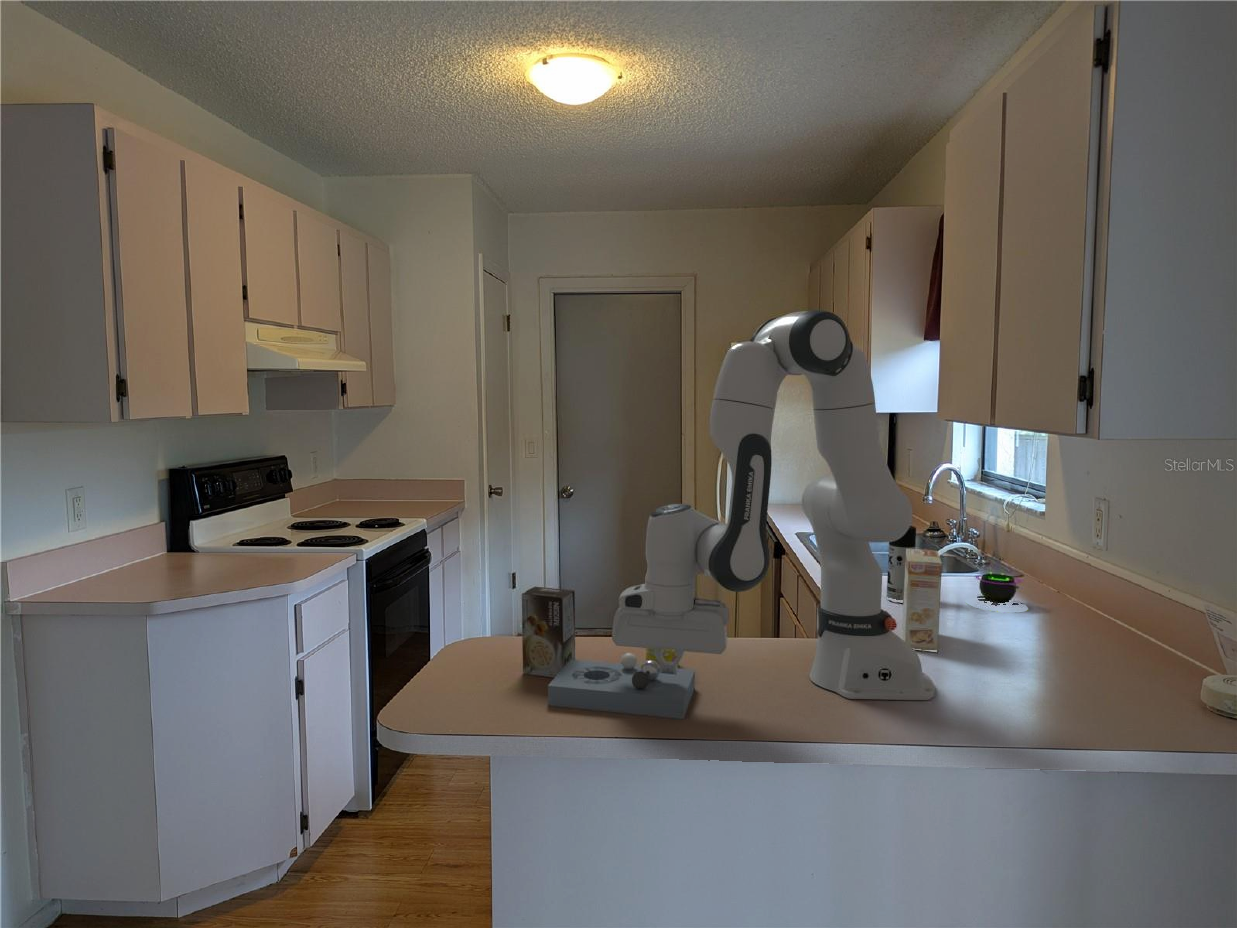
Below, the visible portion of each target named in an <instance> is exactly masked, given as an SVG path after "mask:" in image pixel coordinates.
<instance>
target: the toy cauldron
mask: <svg viewBox="0 0 1237 928" xmlns="http://www.w3.org/2000/svg"><path fill="white" fill-rule="evenodd" d="M995 563H996V564H997V563H998V562H995ZM993 564H994V562H991V563H990V565H993ZM1003 564H1004V567H1005V566H1009V565H1008V563H1007V564H1006V563H1003ZM1005 564H1006V565H1005ZM985 568H987V567H984V569H985ZM989 569H990V570H991V569H992V567H989ZM999 569H1001V567H999ZM1004 569H1007V570H1008V568H1007V567H1006V568H1004ZM1009 570H1011V571H1012V569H1010V568H1009ZM1014 573H1016V571H1015V570H1013V572H1012V573H1010V572H1009V573H1008V574H1009V575H1008V574H1007V575H1006V574H1004V573H1003V572H1001V573H998V572H997V573H993V572H991V571H989V573H981V574H977V575H974V576H973V577H974V579H976V580H979V591H980V593H981V595H978V596H976V597H977V598H985V599H978V600H979V601H984V603H987V602H985V601H990V602H993V603H992V604H991V605H995V606H997V605H1000V604H998V603H1005V602H1009V600H1012V599H1013V598H1014V597H1015V594H1017V589H1019V588H1020V587H1019V586H1018V585H1020V584H1022V583H1023V580H1021V579H1020V578H1018V577H1014V576H1011V575H1012V574H1014ZM980 577H981V578H980ZM1015 580H1016V581H1015ZM1003 605H1006V604H1003ZM1012 605H1019V604H1018V603H1013V604H1012Z"/></svg>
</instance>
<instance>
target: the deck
mask: <svg viewBox="0 0 1237 928" xmlns="http://www.w3.org/2000/svg"><path fill="white" fill-rule="evenodd" d="M641 665H642V664H636V666H635V667H634V668H633V669H625V668H624V667H623V666H622V664H621V662H607V661H597V660H585V659H576V658H575V659H570V661H569V662H568V663H567V664H566V665H565V666H564V667H563V669H562V670H561V671H560V672H559V673H558V674H557V676H556V677H555V678H552V680H551V681H550V682H549V683H548V685H547V706H548V707H559V708H560V707H561V708H568V709H570V708H571V709H577V710H580V709H581V710H588V711H596V712H597V711H599V712H609V713H616V714H617V713H618V714H629V715H636V716H637V715H638V716H645V717H646V716H649V717H658V718H667V719H676V720H677V719H678V720H685V716H686V714H687V711H688V709H689V706H690V703H691V699H692V698H693V695H694V691H695V688H696V686H695V685H696V684H695V683H696V670H695V669H692V668H691V669H688V668H679V667H677V674H676V675H675V674H664V673H660V675H659V677H658V678H657V679H655V680H652V681H649V684H648V686H647V687H646V688H644V689H637V688H635V687H634V686H633V684H632V677H633V675H634V674H635V673H636V672H639V671H640V668H641Z"/></svg>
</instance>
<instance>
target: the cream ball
mask: <svg viewBox="0 0 1237 928" xmlns="http://www.w3.org/2000/svg"><path fill="white" fill-rule="evenodd" d="M620 663H621V664H622V666H623V667H624V668H625V669H633V668H634V667H635V666H636V665H638V664H637V663H638V659H637V657H636V655H635V654H634V653H632V652H625V653H624V654H622V656H621V657H620Z"/></svg>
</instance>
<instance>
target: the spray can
mask: <svg viewBox="0 0 1237 928" xmlns="http://www.w3.org/2000/svg"><path fill="white" fill-rule="evenodd" d="M916 539H917V527H916V526H913V525H910V527H909V529H908V531H907V532H906V533H905V534H904V535H903V536H902V537H901V538H900V539H898V540H896V541H893V542H888V559H887V560H888V561H887V581H886V583H887V584H886V598H887V597H888V598H892V599H896V600H903V601H904V579H905V560H906V549H916V548H917V545H916V543H917V540H916Z"/></svg>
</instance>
